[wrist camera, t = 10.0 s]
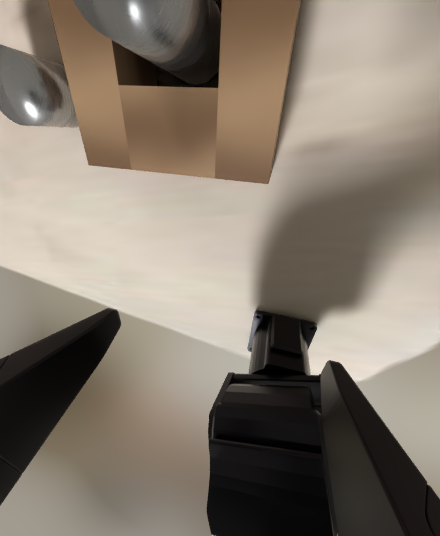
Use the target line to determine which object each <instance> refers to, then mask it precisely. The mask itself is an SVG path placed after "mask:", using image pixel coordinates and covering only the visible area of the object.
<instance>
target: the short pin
mask: <svg viewBox="0 0 440 536" xmlns="http://www.w3.org/2000/svg"><path fill="white" fill-rule="evenodd" d="M0 110H1V112H2V113H3V114H4V115H5V116H7V117H8V118H9V119H10V120H12V121H13V122H15V123H17V124H20V125H25V126H48V127H71V128H73V127H78V126H79V124H78V120H77V116H76V112H75V108H74V104H73V100H72V96H71V92H70V88H69V84H68V80H67V76H66V72H65V67H64V66H63V65H61V64H58V63H55V62H52V61H49V60H46V59H43V58H40V57H37V56H34V55H31V54H28V53H25V52H22V51H19V50H15V49H12V48H9V47H6V46H3V45H0Z"/></svg>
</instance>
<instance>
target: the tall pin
mask: <svg viewBox="0 0 440 536" xmlns="http://www.w3.org/2000/svg"><path fill="white" fill-rule="evenodd" d="M73 1H74V3H75V5H76V6H77V8H78V10H79V11H80V13H81V14H82V15H83V17H84V18H85V19H86V20H87V22H88V23H89V24H90V25H91V26H92V27H93V28H94V29H96V30H97V31H98V32H100V33H101V34H102V35H104V36H106V37H108V38H109V39H111V40H113V41H115V42H116V43H118V44H120V45H122V46H123V47H125V48H127V49H129V50H130V51H132V52H134V53H136V54H138V55H139V56H141V57H143V58H145V59H146V60H148V61H150V62H152V63H153V64H155V65H157V66H159V67H160V68H162V69H164V70H166V71H167V72H169V73H171V74H173V75H174V76H176V77H178V78H180V79H181V80H183V81H185V82H187V83H190V84H195V85H196V84H202V83H205V82H207V81H208V80H210V79H211V78H212V77H213V76H214V75H215V74H216V73H217V71H218V70H219V60H220V35H221V12H220V10H219V8H218V6H217V4H216V2H215V0H73Z"/></svg>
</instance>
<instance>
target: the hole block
mask: <svg viewBox="0 0 440 536" xmlns="http://www.w3.org/2000/svg"><path fill="white" fill-rule="evenodd" d="M48 3H49V7H50V11H51V15H52V19H53V23H54V27H55V31H56V35H57V39H58V43H59V47H60V51H61V55H62V59H63V63H64V67H65V72H66V76H67V80H68V84H69V88H70V92H71V96H72V100H73V104H74V108H75V112H76V116H77V120H78V124H79V128H80V132H81V136H82V140H83V144H84V148H85V152H86V156H87V160H88V164H89V165H92V166H102V167H111V168H121V169H130V170H140V171H149V172H159V173H168V174H178V175H187V176H197V177H206V178H216V179H225V180H235V181H244V182H254V183H263V184H268V183H269V180H270V177H271V173H272V167H273V161H274V156H275V150H276V144H277V138H278V132H279V126H280V121H281V115H282V109H283V103H284V97H285V91H286V86H287V80H288V74H289V68H290V62H291V56H292V51H293V45H294V39H295V33H296V27H297V21H298V16H299V10H300V4H301V0H222V10H221V35H220V60H219V84H218V88H197V87H163V86H157V76H156V65H155V64H153V63H152V62H150V61H148V60H146V59H145V58H143V57H141V56H139V55H138V54H136V53H134V52H132V51H130V50H129V49H127V48H125V47H123V46H122V45H120V44H118V43H116V42H115V41H113V40H111V39H109V38H108V37H106V36H104V35H102V34H101V33H100V32H98V31H97V30H96V29H94V28H93V27H92V26H91V25H90V24H89V23H88V22H87V20H86V19H85V18H84V17H83V15H82V14H81V13H80V11H79V10H78V8H77V6H76V5H75V3H74V1H73V0H48Z"/></svg>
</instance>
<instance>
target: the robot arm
mask: <svg viewBox="0 0 440 536" xmlns="http://www.w3.org/2000/svg"><path fill="white" fill-rule="evenodd" d="M257 315H260V316H257ZM120 326H121V321H120V317H119V313H118V311H117V310H116V309H111V308H107V309H105V310H103V311H101V312H98V313H96V314H94V315H92V316H90V317H88V318H86V319H84V320H82V321H80V322H78V323H75V324H73V325H71V326H69V327H67V328H65V329H63V330H61V331H59V332H56V333H54V334H52V335H50V336H48V337H46V338H44V339H42V340H40V341H37V342H35V343H33V344H31V345H29V346H27V347H25V348H23V349H21V350H19V351H16V352H14V353H12V354H11V355H8V356H6V357H4V358H1V359H0V505H1V504H2V502H3V501H4V499H5V498H6V497H7V495H8V494H9V492H10V491H11V489H12V488H13V487H14V485H15V484H16V482H17V481H18V479H19V478H20V477H21V475H22V473H23V472H24V471H25V469H26V468H27V466H28V465H29V463H30V462H31V460H32V459H33V458H34V456H35V455H36V453H37V452H38V450H39V449H40V447H41V446H42V445H43V443H44V442H45V440H46V439H47V437H48V436H49V435H50V433H51V432H52V430H53V429H54V427H55V426H56V425H57V423H58V422H59V420H60V419H61V417H62V416H63V414H64V413H65V412H66V410H67V409H68V407H69V406H70V404H71V403H72V402H73V400H74V399H75V397H76V396H77V394H78V393H79V392H80V390H81V388H82V387H83V386H84V384H85V383H86V381H87V380H88V379H89V377H90V375H91V374H92V373H93V371H94V370H95V369H96V367H97V366H98V364H99V362H100V361H101V359H102V358H103V357H104V355H105V353H106V351H107V350H108V348H109V346H110V344H111V343H112V341H113V339H114V337H115V335H116V334H117V332H118V330H119V328H120ZM316 330H317V326H316V324H315V323H313V322H309V321H305V320H300V319H295V318H290V317H285V316H281V315H276V314H271V313H266V312H262V311H256V312H255V313H254V318H253V323H252V328H251V334H250V339H249V344H248V351H250V352H252V353H251V360H250V367H249V374H235V373H228V375H227V377H226V379H225V381H224V383H223V385H222V388H221V390H220V392H219V394H218V396H217V398H216V400H215V402H214V404H213V407H212V409H211V411H210V414H209V427H208V435H209V436H208V438H209V452H210V480H209V492H208V502H207V516H208V521H209V526H210V530H211V534H212V535H213V536H337V534H338V536H440V499H439V498H438V496H437V495H436V493H435V492H434V491H433V489H432V488H431V487H430V486H429V485H427V481H426V480H425V478H424V477H423V476H422V474H421V473H420V472H419V470H418V469H417V467H416V466H415V465H414V463H413V462H412V461H411V459H410V458H409V456H408V455H407V454H406V452H405V451H404V450H403V448H402V447H401V445H400V444H399V443H398V441H397V440H396V439H395V437H394V436H393V434H392V433H391V432H390V430H389V429H388V427H387V426H386V425H385V423H384V422H383V421H382V419H381V418H380V416H379V415H378V414H377V412H376V411H375V410H374V408H373V407H372V405H371V404H370V403H369V401H368V400H367V399H366V397H365V396H364V395H363V393H362V392H361V390H360V389H359V388H358V386H357V385H356V383H355V382H354V381H353V379H352V378H351V377H350V375H349V374H348V372H347V371H346V370H345V368H344V367H343V366H342V364H341V363H339V362H335V361H331V360H329V361H328V362H327V363H326V365H325V367H324V369H323V371H322V373H321V374H319V375H310V366H309V358H308V348H309V346H310V344H311V341H312V339H313V337H314V335H315V332H316Z"/></svg>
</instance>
